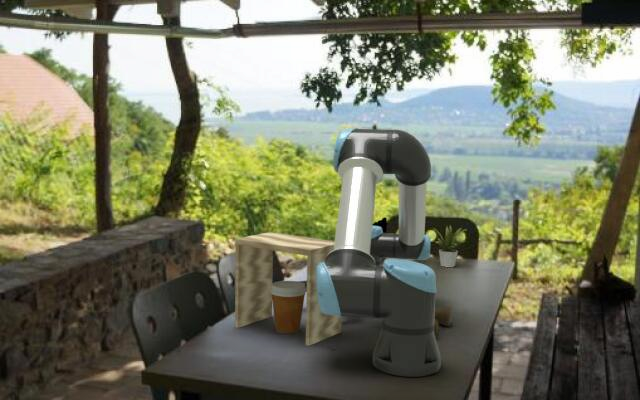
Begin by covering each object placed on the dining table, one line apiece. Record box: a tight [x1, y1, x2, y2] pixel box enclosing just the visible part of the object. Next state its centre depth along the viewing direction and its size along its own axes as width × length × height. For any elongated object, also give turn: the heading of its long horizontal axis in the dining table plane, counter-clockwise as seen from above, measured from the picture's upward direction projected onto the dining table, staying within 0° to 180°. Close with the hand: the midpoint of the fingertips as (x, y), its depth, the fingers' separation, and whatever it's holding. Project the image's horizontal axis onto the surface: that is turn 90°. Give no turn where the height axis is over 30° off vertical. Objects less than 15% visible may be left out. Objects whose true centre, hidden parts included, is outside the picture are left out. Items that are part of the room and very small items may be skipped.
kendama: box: [434, 305, 452, 339], centre depth 184 cm, size 6×10×20 cm
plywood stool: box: [234, 231, 342, 347], centre depth 178 cm, size 14×24×24 cm, turn 55°
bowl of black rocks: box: [372, 217, 388, 264], centre depth 259 cm, size 20×20×19 cm
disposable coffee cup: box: [270, 280, 307, 334], centre depth 179 cm, size 10×10×12 cm
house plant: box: [434, 224, 466, 267], centre depth 261 cm, size 14×14×16 cm
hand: (308, 296), depth 186 cm, fingers open, 13 cm apart
